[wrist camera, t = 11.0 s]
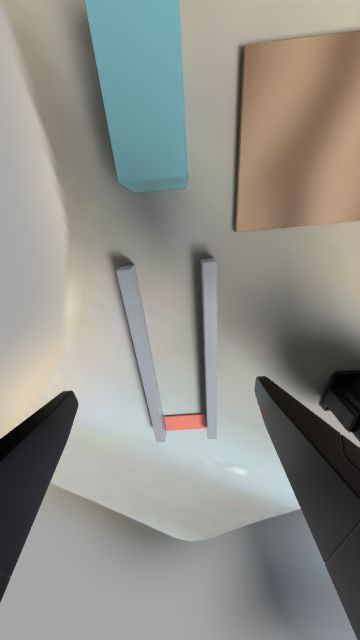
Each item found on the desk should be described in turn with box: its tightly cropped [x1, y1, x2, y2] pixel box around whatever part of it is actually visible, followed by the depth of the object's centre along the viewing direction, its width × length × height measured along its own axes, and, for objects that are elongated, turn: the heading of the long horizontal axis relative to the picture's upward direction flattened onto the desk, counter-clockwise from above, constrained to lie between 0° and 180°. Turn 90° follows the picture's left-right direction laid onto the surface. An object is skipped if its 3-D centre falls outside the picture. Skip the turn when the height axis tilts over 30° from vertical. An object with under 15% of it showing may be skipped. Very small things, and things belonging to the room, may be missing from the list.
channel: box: [116, 258, 218, 442], centre depth 22 cm, size 8×24×2 cm, turn 5°
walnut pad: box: [235, 31, 360, 232], centre depth 14 cm, size 10×10×1 cm
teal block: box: [84, 0, 187, 193], centre depth 11 cm, size 4×7×4 cm, turn 4°
